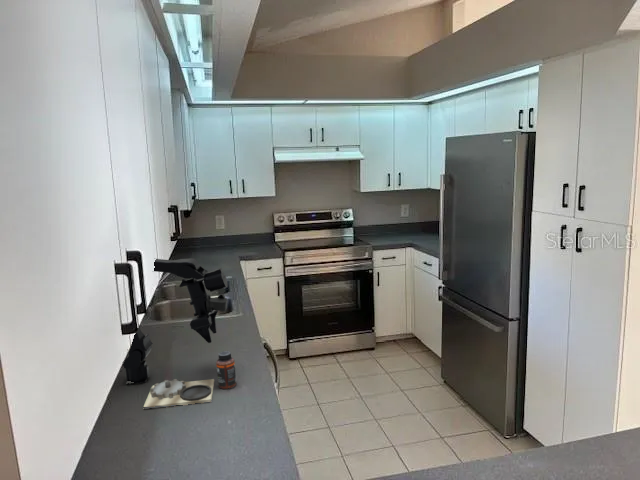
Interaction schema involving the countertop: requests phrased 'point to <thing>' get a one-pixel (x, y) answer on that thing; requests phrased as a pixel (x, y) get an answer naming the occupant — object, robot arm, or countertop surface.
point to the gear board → (180, 393)
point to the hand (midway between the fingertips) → (212, 337)
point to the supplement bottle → (226, 370)
